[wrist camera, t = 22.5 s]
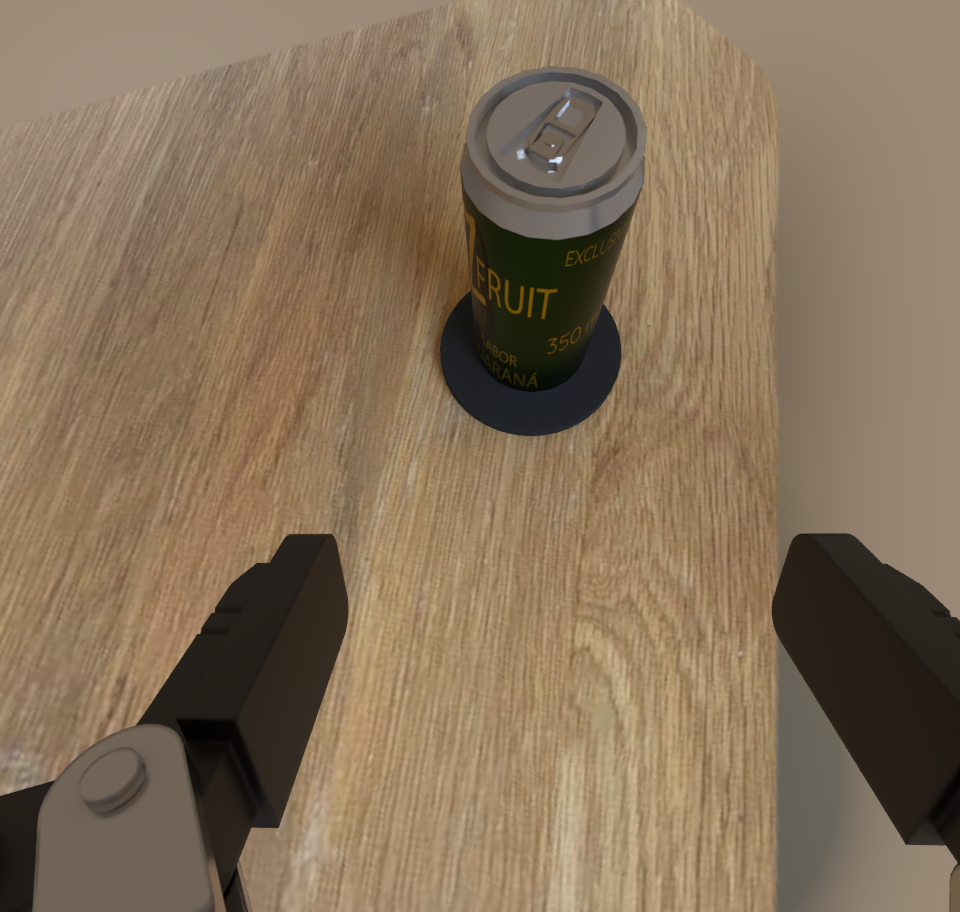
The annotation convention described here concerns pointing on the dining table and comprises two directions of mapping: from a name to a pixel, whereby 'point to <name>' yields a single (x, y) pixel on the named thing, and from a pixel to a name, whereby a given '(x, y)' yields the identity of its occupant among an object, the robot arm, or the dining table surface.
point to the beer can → (547, 216)
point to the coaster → (525, 408)
